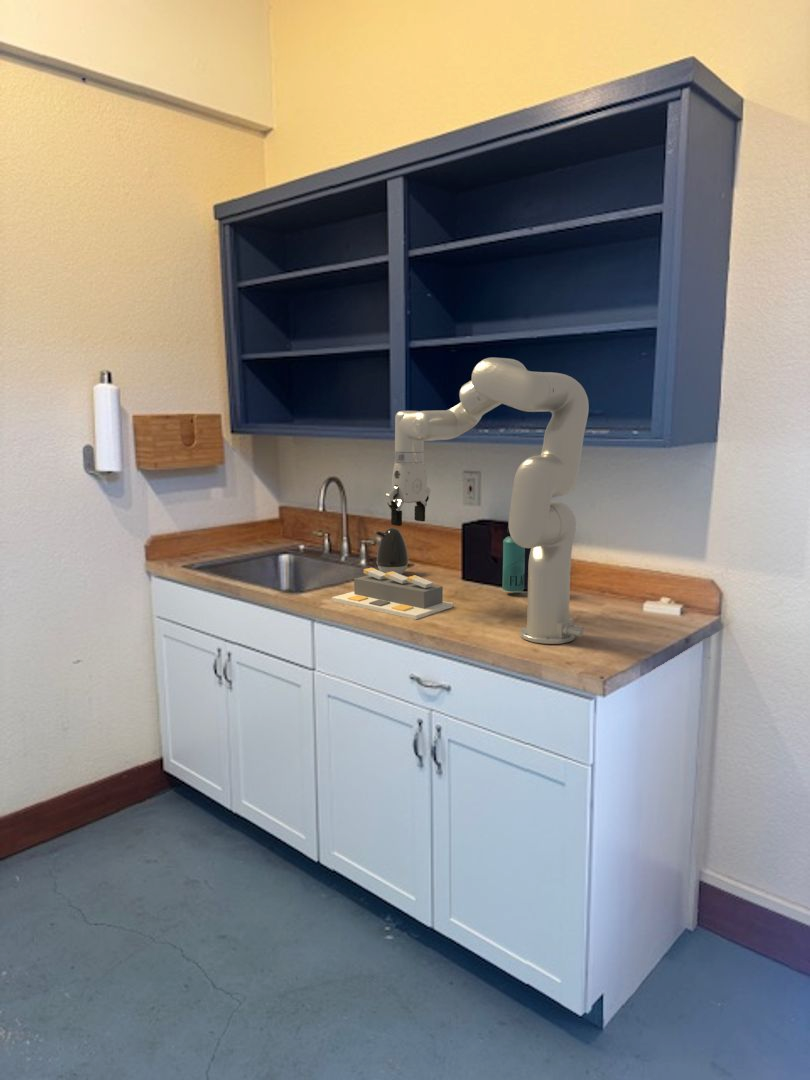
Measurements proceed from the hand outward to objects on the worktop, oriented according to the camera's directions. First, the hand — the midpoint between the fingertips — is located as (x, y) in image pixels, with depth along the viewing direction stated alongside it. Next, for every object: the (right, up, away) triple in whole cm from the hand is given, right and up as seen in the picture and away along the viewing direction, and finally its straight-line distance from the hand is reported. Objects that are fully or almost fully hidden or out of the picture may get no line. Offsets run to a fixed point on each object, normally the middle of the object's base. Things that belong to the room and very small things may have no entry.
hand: (408, 523), depth 201 cm
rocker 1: (-9, -14, +11) cm, 20 cm away
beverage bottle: (+30, -20, +15) cm, 39 cm away
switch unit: (-5, -22, +5) cm, 23 cm away
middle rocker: (-3, -15, +6) cm, 16 cm away
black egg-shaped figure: (-5, -16, +41) cm, 45 cm away
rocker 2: (+3, -16, +1) cm, 16 cm away
